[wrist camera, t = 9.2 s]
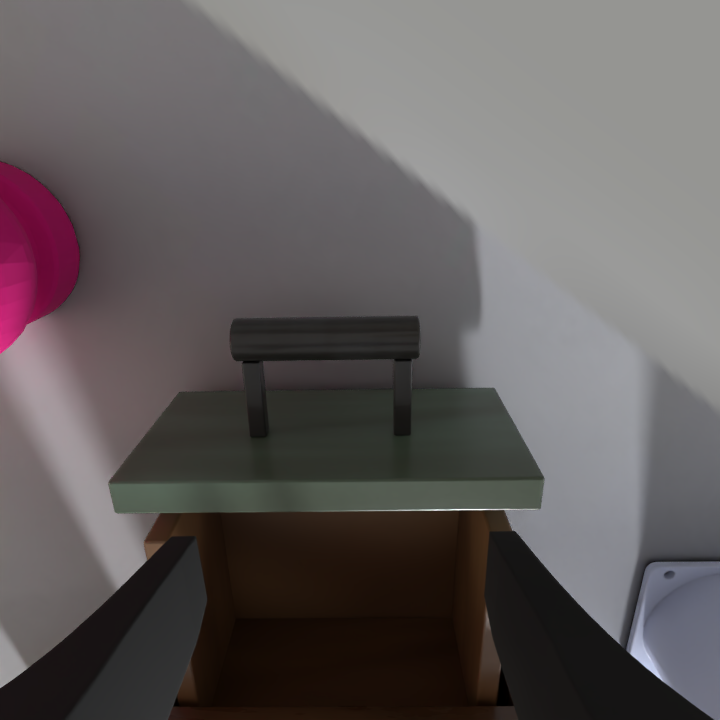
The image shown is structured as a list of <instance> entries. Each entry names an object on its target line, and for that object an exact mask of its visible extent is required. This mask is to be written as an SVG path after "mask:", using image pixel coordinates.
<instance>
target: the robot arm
mask: <svg viewBox="0 0 720 720" xmlns="http://www.w3.org/2000/svg"><path fill="white" fill-rule="evenodd" d="M667 571H668V572H667ZM666 572H667V573H666ZM484 597H485V603H486V608H487V613H488V618H489V623H490V628H491V633H492V638H493V641H494V644H495V648H496V651H497V654H498V657H499V661H500V664H501V667H502V670H503V673H504V676H505V680H506V683H507V686H508V689H509V692H510V695H511V698H512V702H513V705H514V708H515V711H516V714H517V717H518V720H720V561H708V562H653V563H651V564H649V565H648V566H647V567H646V569H645V573H644V577H643V581H642V585H641V590H640V594H639V598H638V602H637V606H636V611H635V615H634V619H633V623H632V627H631V632H630V636H629V640H628V644H627V648H626V650H625V649H624V648H623V647H622V646H621V645H620V644H618V643H617V642H616V641H615V640H614V639H613V638H612V637H611V636H610V635H609V634H608V633H607V632H606V631H605V630H604V629H603V628H602V627H601V626H600V625H599V624H598V623H597V622H596V621H595V620H594V619H593V618H591V617H590V616H589V615H588V613H587V612H586V611H585V610H584V609H583V608H582V607H581V606H580V605H579V604H578V603H577V602H576V601H575V600H574V599H573V598H572V597H571V595H570V594H569V593H568V592H567V591H566V590H565V589H564V588H563V587H562V586H561V585H560V584H559V582H558V581H557V580H556V579H555V578H554V577H553V576H552V574H551V573H550V572H549V571H548V570H547V569H546V567H545V566H544V565H543V564H542V563H541V562H540V560H539V559H538V558H537V557H536V556H535V554H534V553H533V552H532V551H531V550H530V548H529V547H528V546H527V545H526V543H525V542H524V541H523V540H522V539H521V537H520V536H519V535H518V534H517V533H516V532H515V531H489V543H488V555H487V567H486V579H485V591H484ZM206 603H207V594H206V589H205V583H204V578H203V572H202V567H201V561H200V555H199V550H198V544H197V539H196V536H172V537H170V538H169V539H168V540H167V541H166V542H165V543H164V544H163V545H162V546H161V547H160V548H159V549H158V550H157V551H156V552H155V553H154V554H153V555H152V556H151V557H150V558H149V559H148V560H147V561H146V562H145V563H144V565H143V566H142V567H141V568H140V569H139V570H138V571H137V572H136V573H135V574H134V575H133V576H132V577H131V578H130V579H129V580H128V581H127V582H126V583H125V584H124V585H123V586H121V587H120V588H119V589H118V590H117V591H116V592H115V593H114V594H113V595H112V596H111V597H110V598H109V599H108V600H107V601H106V602H105V603H104V604H103V605H102V606H101V607H100V608H99V609H98V610H96V611H95V612H94V613H93V614H92V615H91V616H90V617H89V618H88V619H87V620H85V621H84V622H83V623H82V624H81V625H80V626H79V627H78V628H77V629H75V630H74V631H73V632H72V633H71V634H70V635H69V636H68V637H66V638H65V639H64V640H63V641H62V642H60V643H59V644H58V645H57V646H56V647H54V648H53V649H52V650H51V651H49V652H48V653H47V654H46V655H44V656H43V657H42V658H41V659H39V660H38V661H37V662H35V663H34V664H33V665H32V666H30V667H29V668H28V669H27V670H25V671H24V672H23V673H21V674H20V675H19V676H17V677H16V678H14V679H13V680H12V681H10V682H9V683H7V684H6V685H5V686H3V687H2V688H0V720H168V718H169V716H170V713H171V710H172V708H173V705H174V702H175V700H176V697H177V694H178V692H179V689H180V686H181V684H182V681H183V678H184V676H185V673H186V670H187V668H188V665H189V662H190V659H191V657H192V654H193V651H194V649H195V646H196V643H197V640H198V636H199V632H200V628H201V624H202V620H203V616H204V611H205V607H206Z"/></svg>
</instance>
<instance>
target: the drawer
mask: <svg viewBox="0 0 720 720" xmlns="http://www.w3.org/2000/svg"><path fill="white" fill-rule="evenodd" d="M230 349H231V354H232V357H233V359H234V360H235V361H243V363H242V371H243V380H244V389H245V391H201V392H179V393H178V394H177V396H176V397H175V398H174V400H173V401H172V402H171V403H170V405H169V406H168V407H167V408H166V410H165V411H164V412H163V413H162V415H161V416H160V417H159V418H158V420H157V421H156V422H155V424H154V425H153V426H152V427H151V429H150V430H149V431H148V432H147V434H146V435H145V436H144V437H143V439H142V440H141V441H140V443H139V444H138V445H137V446H136V448H135V449H134V450H133V451H132V453H131V454H130V455H129V456H128V458H127V459H126V460H125V461H124V463H123V464H122V465H121V467H120V468H119V469H118V470H117V472H116V473H115V474H114V475H113V477H112V478H111V479H110V480H109V483H108V485H109V489H110V493H111V498H112V502H113V506H114V510H115V513H160V514H159V516H158V518H157V519H156V521H155V523H154V525H153V526H152V528H151V530H150V532H149V533H148V535H147V537H146V539H145V540H144V547H145V552H146V556H147V560H148V559H149V558H150V557H151V556H152V555H153V554H154V553H155V552H156V551H157V550H158V549H159V548H160V547H161V546H162V545H163V544H164V543H165V542H166V541H167V540H168V539H169V538H170V537H172V536H196V539H197V544H198V550H199V555H200V561H201V567H202V572H203V578H204V583H205V589H206V594H207V603H206V607H205V611H204V616H203V620H202V624H201V628H200V632H199V636H198V640H197V643H196V646H195V649H194V651H193V654H192V657H191V659H190V662H189V665H188V668H187V670H186V673H185V676H184V678H183V681H182V684H181V686H180V689H179V692H178V694H177V699H178V703H179V707H278V706H496V705H497V697H498V688H499V679H500V671H501V664H500V661H499V657H498V654H497V651H496V648H495V644H494V641H493V638H492V633H491V628H490V623H489V618H488V613H487V608H486V603H485V597H484V591H485V579H486V567H487V555H488V543H489V531H512V529H511V526H510V524H509V521H508V519H507V516H506V513H505V511H504V510H539V509H540V508H541V502H542V494H543V487H544V476H543V474H542V473H541V471H540V469H539V467H538V465H537V464H536V462H535V460H534V458H533V456H532V455H531V453H530V451H529V449H528V447H527V446H526V444H525V442H524V440H523V438H522V437H521V435H520V433H519V431H518V429H517V428H516V426H515V424H514V422H513V420H512V419H511V417H510V415H509V413H508V411H507V410H506V408H505V406H504V404H503V402H502V401H501V399H500V397H499V395H498V393H497V392H496V390H495V388H438V389H412V359H417V358H419V355H420V322H419V318H418V316H365V317H299V318H236V319H234V320H233V321H232V324H231V328H230ZM368 359H393V389H359V390H280V391H266V390H265V380H264V369H263V361H295V360H368Z"/></svg>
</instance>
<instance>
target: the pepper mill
mask: <svg viewBox="0 0 720 720" xmlns="http://www.w3.org/2000/svg"><path fill="white" fill-rule="evenodd" d="M79 261H80V255H79V246H78V242H77V239H76V235H75V232H74V228H73V225H72V223H71V222H70V220H69V218H68V216H67V214H66V212H65V211H64V209H63V207H62V206H61V204H60V203H59V202H58V201H57V199H56V198H55V197H54V196H53V195H52V194H51V193H50V192H49V191H48V190H47V189H46V188H45V187H44V186H43V185H42V184H41V183H40V182H38V181H37V180H36V179H34V178H33V177H32V176H30V175H29V174H27V173H25V172H23V171H22V170H20V169H18V168H16V167H14V166H12V165H9V164H6V163H3V162H0V354H1V353H2V352H3V351H4V350H6V349H7V348H8V347H9V346H10V345H12V344H13V342H14V341H15V340H16V339H17V338H18V337H19V336H20V335H21V333H22V332H23V331H24V329H25V327H26V325H27V324H29V323H31V322H33V321H35V320H37V319H39V318H41V317H43V316H45V315H47V314H49V313H51V312H53V311H54V310H55V309H57V308H58V307H59V306H60V305H61V304H62V303H63V302H64V301H65V300H66V299H67V297H68V296H69V294H70V293H71V292H72V290H73V288H74V286H75V283H76V281H77V277H78V273H79Z"/></svg>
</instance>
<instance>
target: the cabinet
mask: <svg viewBox="0 0 720 720" xmlns="http://www.w3.org/2000/svg"><path fill="white" fill-rule="evenodd" d="M168 720H518V717H517V714H516V711H515V708H514V705H513V702H512V698H511V695H510V692H509V689H508V686H507V683H506V680H505V676H504V673H503V670H502V667H501V671H500V679H499V688H498V697H497V705H496V706H278V707H179V703H178V699H177V697H176V700H175V702H174V705H173V708H172V710H171V713H170V716H169V718H168Z"/></svg>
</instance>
